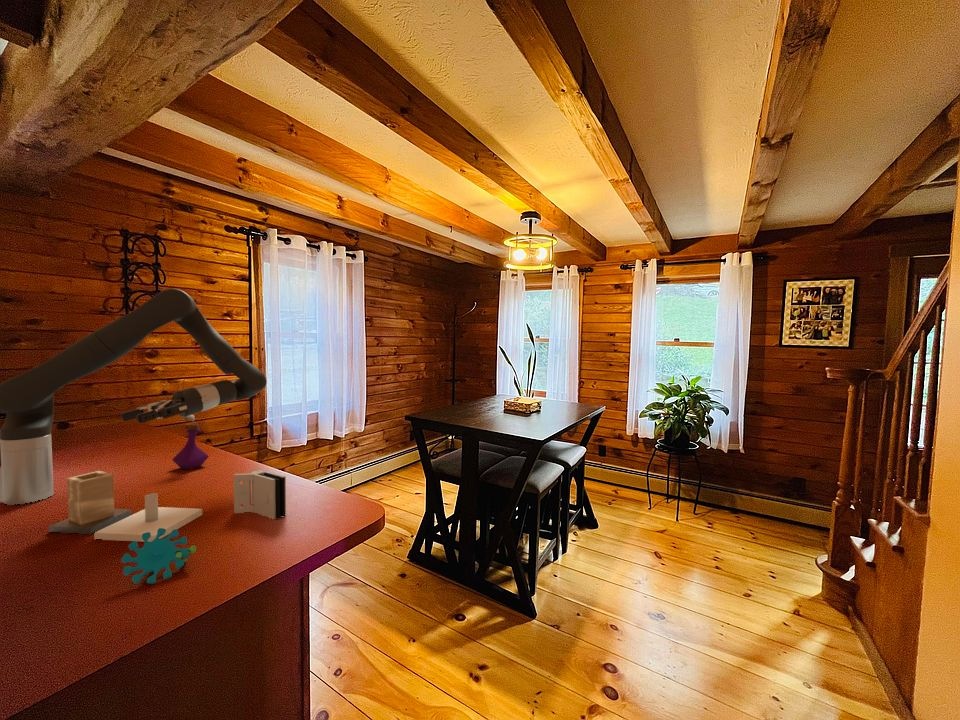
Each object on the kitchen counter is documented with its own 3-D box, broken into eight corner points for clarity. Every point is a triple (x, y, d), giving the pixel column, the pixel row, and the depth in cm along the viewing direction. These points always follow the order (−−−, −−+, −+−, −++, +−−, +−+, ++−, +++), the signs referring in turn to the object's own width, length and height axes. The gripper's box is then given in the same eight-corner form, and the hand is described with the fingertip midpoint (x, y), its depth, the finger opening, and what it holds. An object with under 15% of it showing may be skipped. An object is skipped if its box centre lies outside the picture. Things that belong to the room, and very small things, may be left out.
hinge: (233, 513, 104) (232, 474, 103) (250, 505, 109) (249, 468, 109) (277, 520, 100) (277, 480, 100) (293, 512, 105) (293, 473, 105)
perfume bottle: (209, 465, 142) (208, 414, 141) (187, 471, 135) (186, 417, 134) (193, 462, 144) (192, 412, 143) (171, 469, 137) (170, 416, 136)
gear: (114, 586, 70) (128, 528, 77) (116, 597, 74) (130, 541, 80) (191, 576, 76) (199, 523, 82) (190, 587, 80) (198, 535, 86)
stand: (49, 532, 92) (47, 491, 92) (93, 513, 102) (92, 476, 102) (90, 534, 92) (89, 493, 91) (131, 515, 102) (130, 477, 101)
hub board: (94, 539, 90) (93, 506, 89) (149, 512, 104) (148, 483, 103) (154, 542, 89) (154, 508, 88) (202, 514, 103) (201, 485, 102)
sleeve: (68, 520, 95) (67, 478, 95) (100, 510, 101) (99, 470, 100) (82, 525, 93) (80, 482, 93) (114, 514, 99) (113, 474, 98)
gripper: (180, 386, 120) (112, 403, 106) (207, 387, 114) (138, 405, 100) (186, 410, 122) (120, 430, 108) (213, 413, 115) (146, 434, 101)
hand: (129, 418), depth 104 cm, fingers open, 8 cm apart
